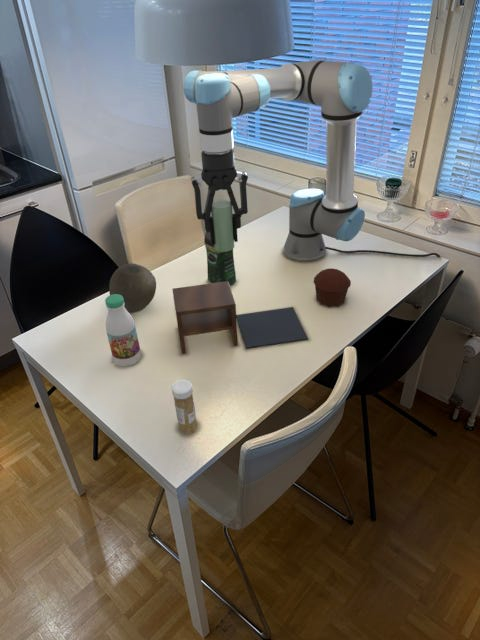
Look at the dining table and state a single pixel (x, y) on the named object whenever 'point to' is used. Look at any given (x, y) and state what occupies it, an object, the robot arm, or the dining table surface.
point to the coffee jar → (219, 264)
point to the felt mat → (270, 327)
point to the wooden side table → (205, 310)
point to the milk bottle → (121, 332)
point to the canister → (223, 225)
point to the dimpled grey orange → (133, 286)
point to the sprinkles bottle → (184, 406)
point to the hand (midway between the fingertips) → (224, 240)
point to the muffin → (331, 287)
